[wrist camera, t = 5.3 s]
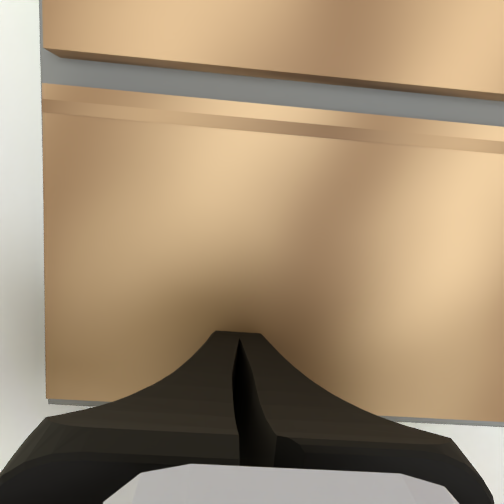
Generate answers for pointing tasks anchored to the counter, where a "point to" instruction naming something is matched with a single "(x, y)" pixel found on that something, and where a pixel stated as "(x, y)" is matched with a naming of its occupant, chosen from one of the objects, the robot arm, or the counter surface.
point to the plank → (273, 247)
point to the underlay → (272, 94)
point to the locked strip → (296, 40)
